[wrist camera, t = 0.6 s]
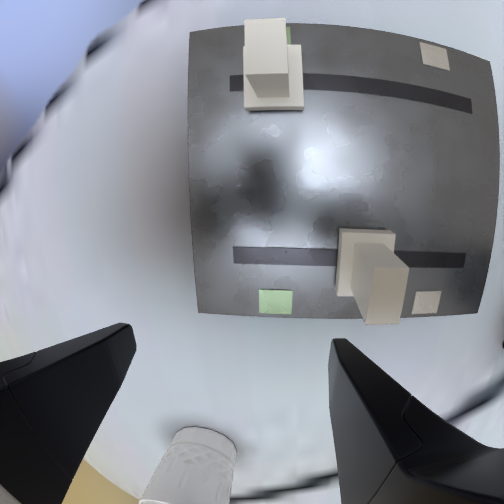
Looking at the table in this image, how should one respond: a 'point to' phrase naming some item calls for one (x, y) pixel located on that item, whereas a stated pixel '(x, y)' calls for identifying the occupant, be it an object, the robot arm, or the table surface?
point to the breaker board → (341, 172)
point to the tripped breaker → (371, 274)
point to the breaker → (271, 67)
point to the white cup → (193, 470)
